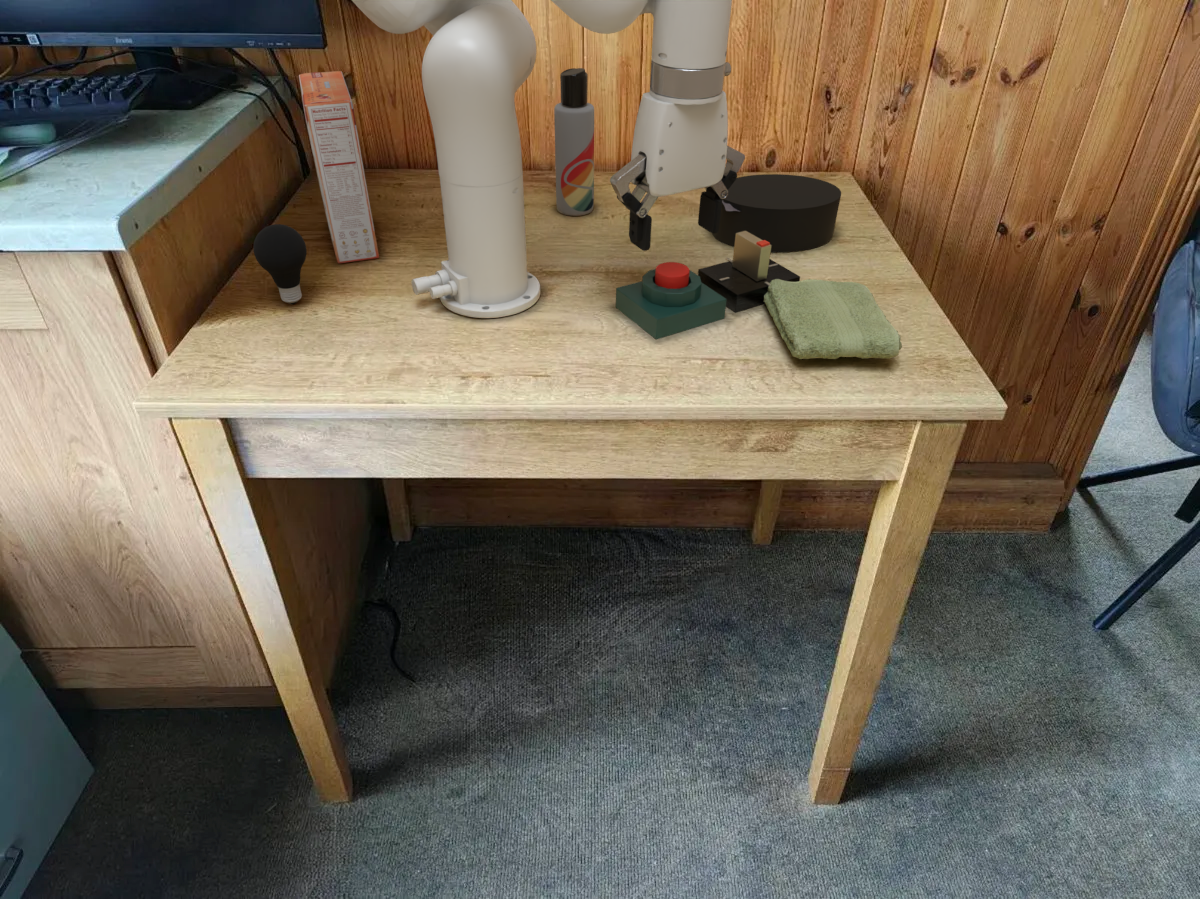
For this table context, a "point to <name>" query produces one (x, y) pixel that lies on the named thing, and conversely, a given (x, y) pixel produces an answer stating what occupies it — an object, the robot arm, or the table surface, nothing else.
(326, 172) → the cracker box
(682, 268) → the button
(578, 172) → the lotion bottle
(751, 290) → the dial panel
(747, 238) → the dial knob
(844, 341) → the washcloth
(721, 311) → the button block
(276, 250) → the light bulb
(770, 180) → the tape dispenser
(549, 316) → the table surface
